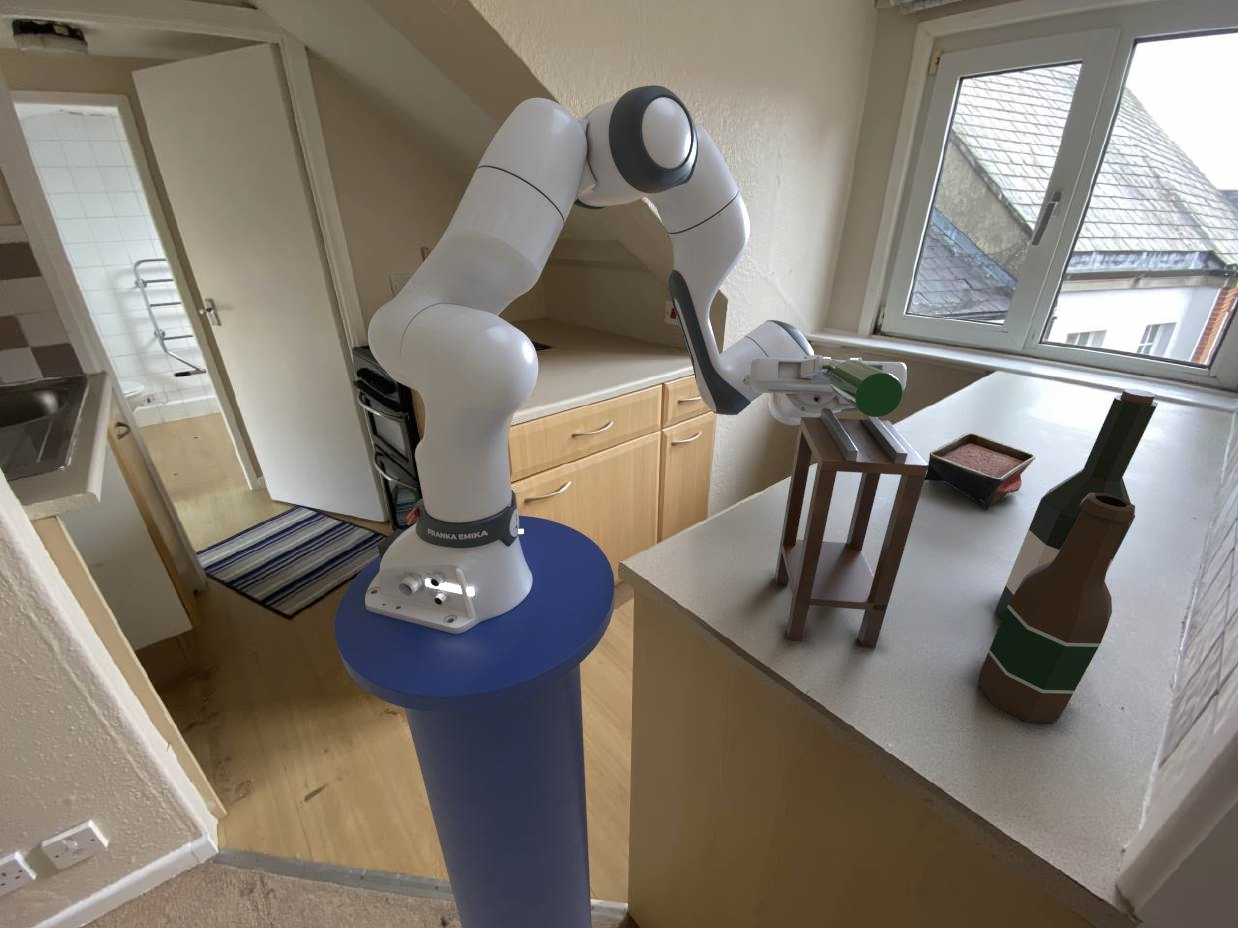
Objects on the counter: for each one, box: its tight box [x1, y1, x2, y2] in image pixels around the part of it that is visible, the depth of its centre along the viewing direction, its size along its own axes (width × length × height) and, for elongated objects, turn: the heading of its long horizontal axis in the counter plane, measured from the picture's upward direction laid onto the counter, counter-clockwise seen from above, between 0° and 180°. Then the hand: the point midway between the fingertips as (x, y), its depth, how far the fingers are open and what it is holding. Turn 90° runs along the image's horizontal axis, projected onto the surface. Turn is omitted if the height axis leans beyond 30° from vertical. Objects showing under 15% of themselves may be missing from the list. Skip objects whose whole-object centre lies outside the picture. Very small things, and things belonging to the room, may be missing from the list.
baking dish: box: [924, 432, 1036, 511], centre depth 95 cm, size 14×18×10 cm
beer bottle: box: [977, 493, 1136, 724], centre depth 51 cm, size 8×8×24 cm
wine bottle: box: [994, 388, 1159, 620], centre depth 59 cm, size 8×8×30 cm
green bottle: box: [822, 359, 903, 418], centre depth 61 cm, size 18×4×4 cm, turn 173°
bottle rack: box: [774, 408, 928, 649], centre depth 62 cm, size 10×12×25 cm
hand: (840, 363), depth 65 cm, fingers closed on green bottle, 2 cm apart
